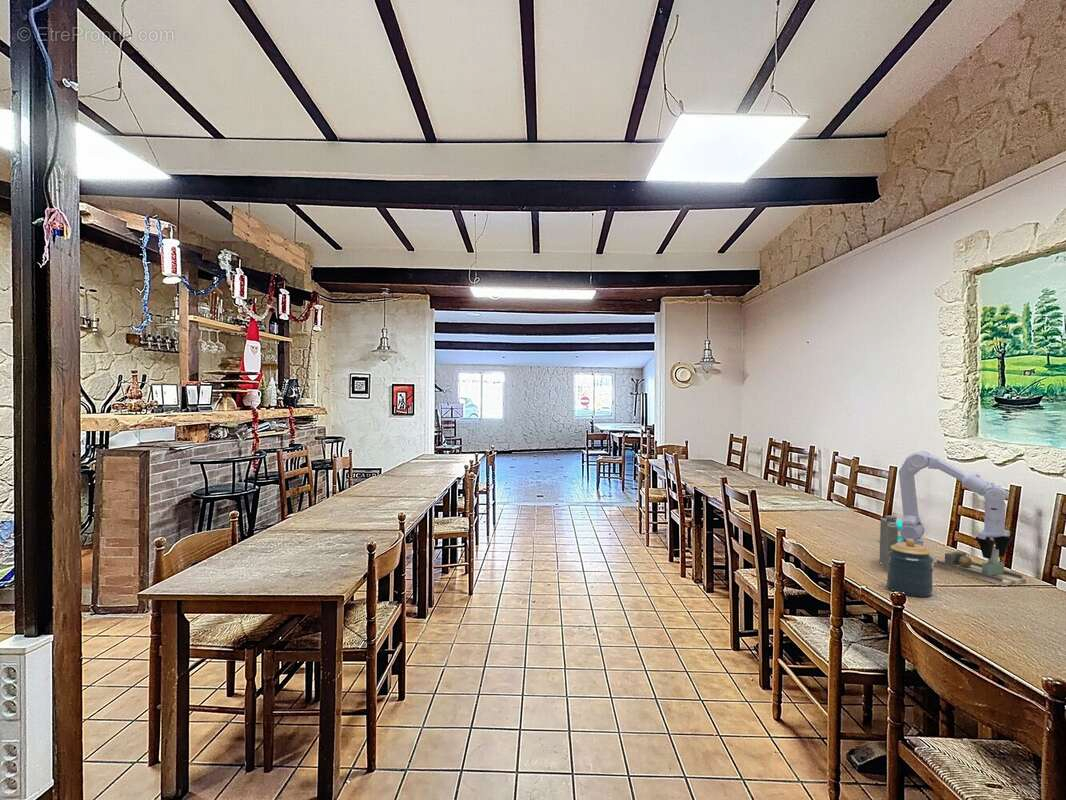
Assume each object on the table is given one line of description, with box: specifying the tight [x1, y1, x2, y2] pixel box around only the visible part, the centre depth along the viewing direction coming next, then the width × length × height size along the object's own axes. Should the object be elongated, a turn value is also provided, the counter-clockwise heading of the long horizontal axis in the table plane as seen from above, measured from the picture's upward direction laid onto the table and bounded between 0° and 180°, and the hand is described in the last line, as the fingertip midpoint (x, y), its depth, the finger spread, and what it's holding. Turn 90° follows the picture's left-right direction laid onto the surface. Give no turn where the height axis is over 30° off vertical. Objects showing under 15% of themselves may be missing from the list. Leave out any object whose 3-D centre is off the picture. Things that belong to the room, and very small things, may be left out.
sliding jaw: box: [981, 547, 1005, 575], centre depth 205 cm, size 9×3×9 cm, turn 111°
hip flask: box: [879, 515, 899, 573], centre depth 215 cm, size 16×4×20 cm, turn 159°
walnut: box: [959, 555, 973, 567], centre depth 214 cm, size 4×4×4 cm
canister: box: [886, 539, 934, 598], centre depth 191 cm, size 13×13×18 cm
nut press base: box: [933, 551, 1027, 587], centre depth 209 cm, size 12×24×6 cm, turn 21°
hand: (993, 557), depth 205 cm, fingers open, 7 cm apart
